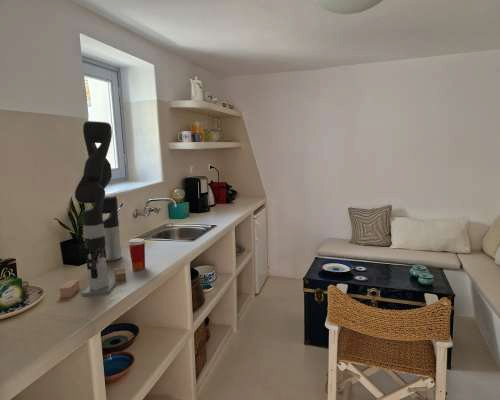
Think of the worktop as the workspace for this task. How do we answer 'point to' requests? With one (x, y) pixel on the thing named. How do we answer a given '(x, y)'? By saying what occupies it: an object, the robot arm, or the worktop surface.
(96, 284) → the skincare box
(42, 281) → the worktop surface
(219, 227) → the worktop surface
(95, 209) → the robot arm
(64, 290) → the terracotta brick
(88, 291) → the slate slab
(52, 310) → the worktop surface
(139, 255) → the paper cup
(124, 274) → the walnut brick
